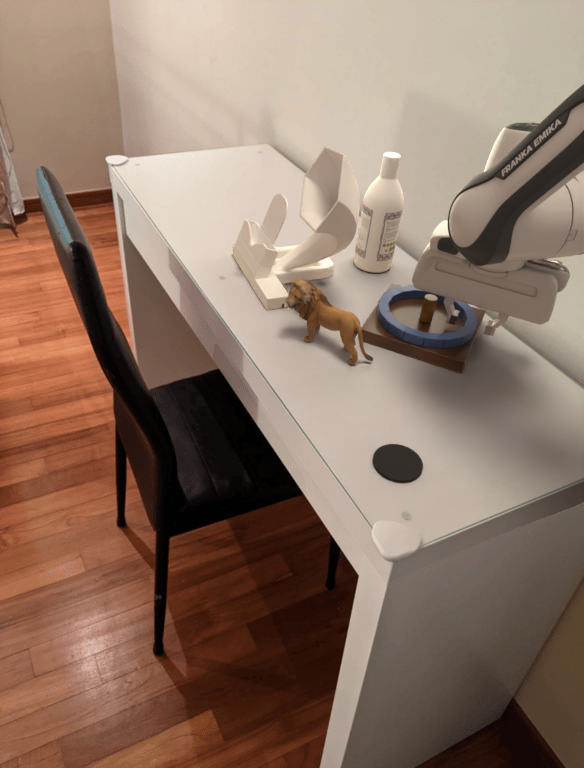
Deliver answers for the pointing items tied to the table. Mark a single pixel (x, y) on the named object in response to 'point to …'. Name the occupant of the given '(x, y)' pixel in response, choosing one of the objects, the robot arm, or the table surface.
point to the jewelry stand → (311, 258)
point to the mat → (397, 463)
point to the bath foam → (380, 218)
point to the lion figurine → (325, 316)
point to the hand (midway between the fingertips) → (469, 327)
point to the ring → (418, 336)
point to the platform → (425, 319)
